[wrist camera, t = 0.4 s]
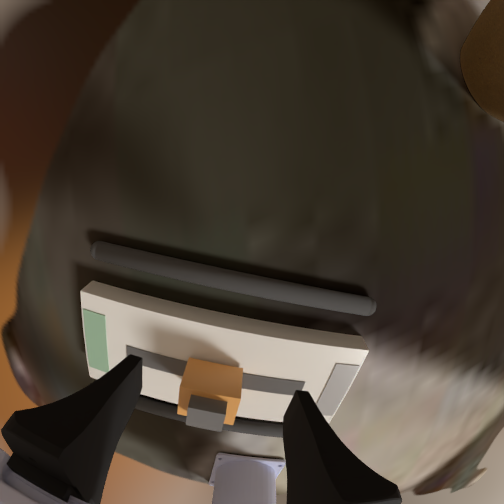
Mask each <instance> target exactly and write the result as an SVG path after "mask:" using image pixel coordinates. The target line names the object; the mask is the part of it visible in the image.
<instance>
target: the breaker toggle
mask: <svg viewBox="0 0 504 504" xmlns="http://www.w3.org/2000/svg"><path fill="white" fill-rule="evenodd" d="M242 377H243V368H239V367H233V366H228V365H223V364H218V363H213V362H208V361H203V360H199V359H194V358H190V357H189V359H188V362H187V365H186V368H185V371H184V374H183V377H182V381H181V384H180V388H179V399H178V411H177V414H180V415H184V416H187V418H186V425H189V426H193V427H198V428H203V429H208V430H213V431H218V432H221V431H222V427H223V424H229V425H233V424H234V420H235V417H236V414H237V411H238V407H239V404H240V401H241V391H242Z"/></svg>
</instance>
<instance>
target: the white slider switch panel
mask: <svg viewBox="0 0 504 504" xmlns="http://www.w3.org/2000/svg"><path fill="white" fill-rule="evenodd" d="M80 292H81V308H82V321H83V331H84V340H85V348H86V355H87V362H88V369H89V375H90V377H92V378H94V379H99V378H100V377H102V376H103V375H104V374H106V373H107V372H108V371H110V370H111V369H112V368H114V367H115V366H116V365H117V364H118V363H120V362H121V361H122V360H123V359H124V358H126V357H127V356H128V355H130V354H132V355H135V356H139V357H142V358H143V363H142V390H141V393H140V394H142V395H145V396H149V397H152V398H156V399H160V400H163V401H167V402H171V403H175V404H178V399H179V388H180V384H181V381H182V377H183V374H184V371H185V368H186V365H187V362H188V359H189V357H190V358H194V359H199V360H203V361H208V362H213V363H218V364H223V365H228V366H233V367H239V368H243V377H242V391H241V401H240V404H239V407H238V411H237V414H236V416H239V417H246V418H253V419H260V420H268V421H277V422H283V416H284V414H285V412H286V410H287V408H288V406H289V404H290V402H291V399H292V397H293V395H294V393H295V391H296V390H302V391H308V392H309V393H310V395H311V396H312V398H313V400H314V402H315V403H316V405H317V407H318V408H319V410H320V412H321V413H322V415H323V416H324V418H325V419H326V421H327V422H328V424H329V423H330V421H331V419H332V418H333V416H334V414H335V413H336V411H337V409H338V408H339V406H340V404H341V402H342V401H343V399H344V397H345V395H346V394H347V392H348V390H349V388H350V386H351V385H352V383H353V381H354V379H355V377H356V375H357V373H358V371H359V370H360V368H361V366H362V364H363V362H364V360H365V358H366V356H367V354H368V352H369V349H368V347H367V345H366V343H365V342H364V340H363V338H362V336H356V335H349V334H342V333H335V332H328V331H321V330H314V329H308V328H302V327H296V326H290V325H284V324H278V323H273V322H267V321H262V320H256V319H251V318H246V317H241V316H236V315H231V314H226V313H221V312H217V311H212V310H207V309H203V308H198V307H194V306H189V305H185V304H181V303H177V302H172V301H168V300H164V299H160V298H156V297H152V296H148V295H144V294H140V293H136V292H133V291H129V290H125V289H121V288H118V287H114V286H111V285H107V284H103V283H100V282H96V281H93V280H92V281H91V282H90V283H89V284H88V285H87V286H85V287H84V288H83V289H82V290H81V291H80Z"/></svg>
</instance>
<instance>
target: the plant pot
mask: <svg viewBox="0 0 504 504" xmlns="http://www.w3.org/2000/svg"><path fill="white" fill-rule="evenodd" d="M460 64H461V70H462V74H463V77H464V80H465V83H466V85H467V87H468V89H469V91H470V93H471V95H472V96H473V98H474V99H475V101H476V102H477V103H478V105H479V106H480V107H481V108H482V109H483V110H484V111H485V112H486V113H488V114H489V115H491V116H493V117H494V118H496V119H498V120H500V121H502V122H504V0H490V1H489V3H488V4H487V6H486V7H485V9H484V10H483V12H482V13H481V15H480V16H479V18H478V20H477V21H476V23H475V24H474V26H473V28H472V30H471V31H470V33H469V35H468V37H467V38H466V40H465V42H464V44H463V46H462V49H461V53H460Z"/></svg>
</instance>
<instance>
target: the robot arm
mask: <svg viewBox="0 0 504 504" xmlns="http://www.w3.org/2000/svg"><path fill="white" fill-rule="evenodd" d="M142 363H143V358H142V357H139V356H135V355H132V354H130V355H128V356H127V357H126V358H124V359H123V360H122V361H121V362H120V363H118V364H117V365H116V366H115V367H114V368H112V369H111V370H110V371H108V372H107V373H106V374H104V375H103V376H102V377H100V378H99V379H97V380H96V381H94V382H93V383H91V384H90V385H88V386H87V387H85V388H83V389H82V390H80V391H78V392H76V393H74V394H72V395H70V396H68V397H65V398H63V399H61V400H58V401H56V402H53V403H50V404H47V405H44V406H40V407H36V408H32V409H26V410H20V411H15V412H14V413H13V414H12V416H11V417H10V418H9V420H8V421H7V422H6V424H5V425H4V427H3V428H2V429H1V432H2V436H3V437H4V439H5V441H6V442H7V444H8V446H9V447H10V449H11V450H12V452H13V454H12V456H11V457H10V456H9V455H8V454H7V453H6V452H4V451H3V450H2V449H0V504H100V502H101V498H102V493H103V489H104V485H105V481H106V477H107V474H108V470H109V467H110V463H111V461H112V458H113V454H114V452H115V449H116V446H117V443H118V441H119V439H120V437H121V435H122V433H123V430H124V428H125V426H126V424H127V423H128V421H129V419H130V417H131V415H132V413H133V411H134V409H135V406H136V404H137V402H138V399H139V396H140V393H141V390H142ZM283 441H284V451H285V459H286V461H285V460H280V459H267V458H257V457H248V456H240V455H233V454H226V453H217V455H216V459H215V462H214V466H213V469H212V473H211V476H210V480H209V485H210V486H214V492H213V500H212V504H276V480H275V479H276V478H277V476H278V475H279V473H280V472H281V470H282V469H283V467H284V466H285V464H286V468H287V504H401V502H402V498H401V495H400V492H399V489H398V486H397V485H396V484H394V483H392V482H390V481H389V480H387V479H385V478H384V477H382V476H380V475H379V474H377V473H376V472H375V471H373V470H372V469H370V468H369V467H368V466H366V465H365V464H364V463H363V462H362V461H361V460H359V459H358V458H357V457H356V456H355V455H354V454H353V453H352V452H351V451H350V450H349V449H348V448H347V447H346V446H345V445H344V444H343V442H342V441H341V440H340V439H339V437H338V436H337V435H336V434H335V432H334V431H333V430H332V428H331V427H330V425H329V424H328V422H327V421H326V419H325V418H324V416H323V415H322V413H321V412H320V410H319V408H318V407H317V405H316V403H315V402H314V400H313V398H312V396H311V395H310V393H309V392H308V391H302V390H296V391H295V393H294V395H293V397H292V399H291V402H290V404H289V406H288V408H287V410H286V412H285V414H284V416H283Z"/></svg>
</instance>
